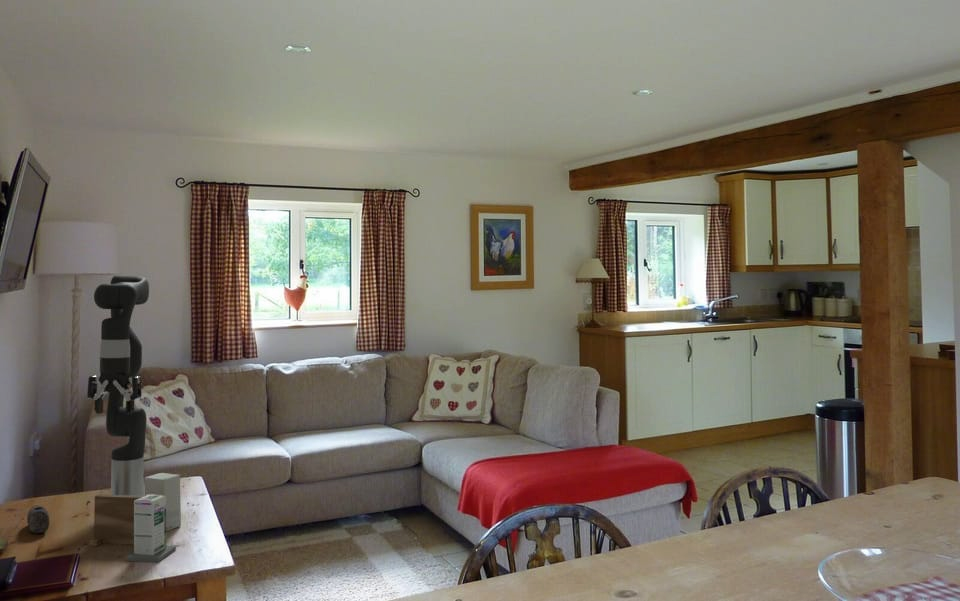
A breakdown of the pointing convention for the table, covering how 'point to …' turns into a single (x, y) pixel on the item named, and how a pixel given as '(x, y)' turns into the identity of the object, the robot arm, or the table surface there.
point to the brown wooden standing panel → (114, 519)
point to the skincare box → (171, 490)
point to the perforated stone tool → (38, 519)
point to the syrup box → (150, 524)
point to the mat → (149, 558)
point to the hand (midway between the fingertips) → (114, 413)
